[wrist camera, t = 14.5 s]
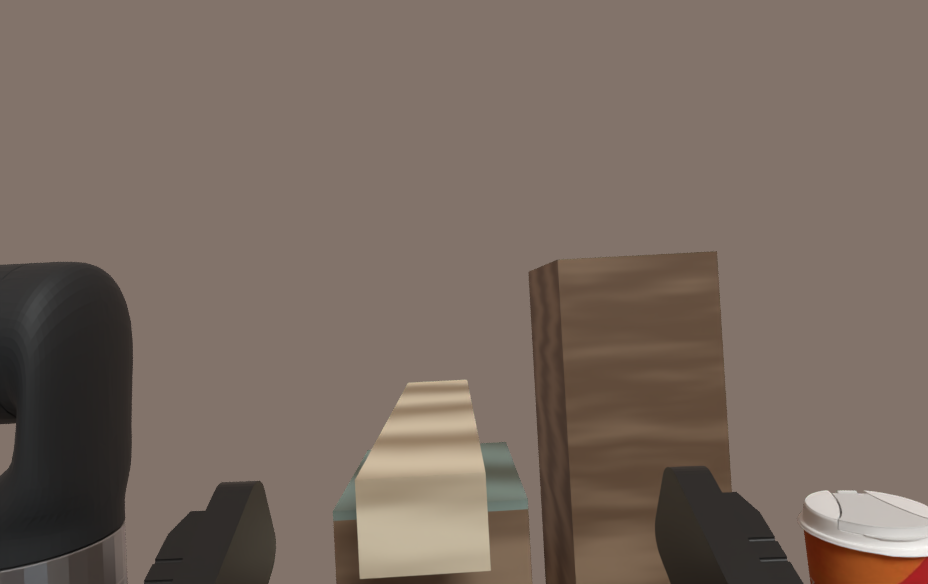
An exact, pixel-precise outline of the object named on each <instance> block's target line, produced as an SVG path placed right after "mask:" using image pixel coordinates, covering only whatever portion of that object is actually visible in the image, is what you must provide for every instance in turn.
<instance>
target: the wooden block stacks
mask: <svg viewBox="0 0 928 584" xmlns="http://www.w3.org/2000/svg"><path fill="white" fill-rule="evenodd" d="M529 288H530V305H531V324H532V341H533V360H534V378H535V395H536V413H537V431H538V450H539V467H540V486H541V503H542V521H543V540H544V556H545V557H544V558H545V574H546V575H545V576H546V584H671V583H670V581H669V578H668V575H667V573H666V570H665V568H664V565H663V562H662V560H661V557H660V554H659V551H658V548H657V543H656V537H655V518H656V512H657V506H658V500H659V495H660V489H661V483H662V477H663V472H664V470H665V468H666V467H680V466H706V467H707V468H708V469H709V470H710V472H711V473H712V475H713V477H714V479H715V480H716V482H717V484H718V486H719V488H720V489H721V491H722V493H724V492H732V489H731V472H730V455H729V440H728V424H727V409H726V408H727V407H726V391H725V375H724V358H723V342H722V327H721V310H720V295H719V294H720V293H719V277H718V262H717V251H716V252H696V253H677V254H658V255H640V256H639V255H638V256H619V257H602V258H601V257H600V258H581V259H561V260H556V261H553V262H551V263H549V264H546V265H544V266H541V267H539V268H537V269H534V270H532V271H530V272H529ZM480 447H481V452H482V457H483V462H484V467H485V472H486V490H487V509H488V528H489V546H490V565H491V571H479V572H464V573H448V574H432V575H416V576H401V577H385V578H369V579H360V573H359V553H358V533H357V513H356V493H355V479H356V477H357V475H358V474H359V472H360V470H361V468H362V466H363V464H364V463H365V461H366V459H367V457H368V455H369V454H370V452H371V450H368V451H367V453H366V455H365V457H364V459H363V460H362V462H361V464H360V465H359V467H358V469H357V471H356V472H355V474H354V476H353V477H352V479H351V481H350V483H349V484H348V486H347V488H346V490H345V491H344V493H343V495H342V497H341V498H340V500H339V502H338V503H337V505H336V507H335V509H334V511H333V522H334V542H335V563H336V581H337V582H336V583H337V584H532V570H531V553H530V534H529V515H528V500H527V496H526V494H525V491H524V489H523V486H522V483H521V481H520V478H519V476H518V473H517V470H516V468H515V465H514V463H513V460H512V457H511V455H510V452H509V449H508V447H507V444H506V442H499V443H484V444H483V443H482V444H480Z"/></svg>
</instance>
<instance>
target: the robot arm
mask: <svg viewBox="0 0 928 584" xmlns="http://www.w3.org/2000/svg"><path fill="white" fill-rule="evenodd" d="M132 366H133V343H132V331H131V321H130V316H129V312H128V308H127V304H126V301H125V299H124V297H123V294H122V292H121V290H120V288H119V287H118V285H117V284H116V283H115V281H114V279H113V278H112V277H111V276H110V275H109V274H108V273H106V272H105V271H104V270H102V269H100V268H99V267H97V266H94V265H91V264H87V263H79V262H50V263H29V264H11V265H0V424H11V423H16V433H15V445H14V452H13V457H12V463H11V465H10V466H9V468H8V469H7V470H6V471H5V472H4V473H3V474H2V475H1V476H0V584H128V583H127V558H126V537H125V535H126V534H125V492H126V486H127V481H128V476H129V471H130V465H131V448H132V447H131V446H132V439H131V438H132V434H131V415H132V414H131V411H132V368H133V367H132ZM655 537H656V543H657V548H658V551H659V554H660V557H661V560H662V562H663V565H664V568H665V570H666V573H667V575H668V578H669V581H670V583H671V584H803V582H802V581H801V579H800V577H799V576H798V574H797V573H796V571H795V570H794V568H793V566H792V564H791V563H790V562H788V561H787V556H786V554H785V553H784V551H783V550H782V548H781V546H780V545H779V543H778V542H777V541H775V538H774V535H773V533H772V532H771V530H770V528H769V527H768V525H767V524H766V522H765V520H764V519H763V517H762V515H761V514H760V512H759V511H758V510H756V509H755V508H754V507H753V506H752V505H751V504H749V503H748V502H747V501H746V500H745V499H744V498H743V497H741V496H740V495H739V494H738V493H737V492H724V493H722V491H721V489H720V488H719V486H718V484H717V482H716V480H715V479H714V477H713V475H712V473H711V472H710V470H709V469H708V468H707V467H706V466H680V467H666V468H665V470H664V472H663V477H662V483H661V489H660V495H659V500H658V506H657V512H656V518H655ZM275 551H276V539H275V532H274V528H273V524H272V520H271V515H270V511H269V507H268V503H267V499H266V494H265V490H264V486H263V484H262V483H261V482H260V481H246V482H222V483H220V484H219V485H218V486H217V488H216V490H215V492H214V494H213V496H212V498H211V500H210V502H209V504H208V506H207V509H206V511H192V512H190V513H189V514H188V515H187V516H186V517H185V518H184V519H183V520H182V521H181V522H180V523H179V524H178V525H177V526H176V527H175V528H174V529H173V530H172V531H171V532H170V533H169V534H168V536H167V538H166V540H165V542H164V543H163V545H162V547H161V549H160V551H159V553H158V555H157V557H156V559H155V564H153V565H152V567H151V568H150V570H149V572H148V574H147V576H146V578H145V580H144V584H268V583H269V579H270V576H271V573H272V569H273V565H274V559H275Z"/></svg>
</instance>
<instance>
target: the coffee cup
mask: <svg viewBox="0 0 928 584" xmlns="http://www.w3.org/2000/svg"><path fill="white" fill-rule="evenodd" d="M833 495H834V497H833ZM803 505H804V506H803V510H802V511H801V512H800V513H799V515H798V518H797V521H798V524H799V525H800V527H801V528H802V529H803V530H804V535H805V542H806V550H807V558H808V566H809V574H810V582H811V584H928V506H926V505H924V504H921V503H919V502H916V501H913V500H910V499H907V498H904V497H900V496H895V495H891V494H886V493H879V492H873V491H864V492H863V494H858V493H857V491H836V493H830V492H829V491H828V490H825V491H819V492H815V493H812V494H810V495H808V496H807V497H806V499H805V501H804V504H803Z"/></svg>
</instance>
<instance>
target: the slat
mask: <svg viewBox="0 0 928 584" xmlns="http://www.w3.org/2000/svg"><path fill="white" fill-rule="evenodd" d="M355 493H356V513H357V533H358V553H359V573H360V579H369V578H385V577H401V576H416V575H432V574H448V573H464V572H479V571H491V565H490V546H489V528H488V509H487V490H486V472H485V467H484V462H483V457H482V452H481V447H480V442H479V437H478V432H477V427H476V422H475V417H474V412H473V407H472V403H471V397H470V392H469V387H468V382H467V380H450V381H435V382H434V381H433V382H415V383H408V384H407V386H406V388H405V390H404V392H403V393H402V396H401V397H400V399H399V401H398V403H397V404H396V406H395V408H394V410H393V412H392V414H391V415H390V418H389V419H388V421H387V423H386V424H385V426H384V428H383V430H382V432H381V433H380V435H379V437H378V439H377V441H376V443H375V444H374V446H373V448H372V450H371V452H370V454H369V455H368V457H367V459H366V461H365V463H364V464H363V466H362V468H361V470H360V472H359V474H358V475H357V477H356V479H355Z"/></svg>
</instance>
